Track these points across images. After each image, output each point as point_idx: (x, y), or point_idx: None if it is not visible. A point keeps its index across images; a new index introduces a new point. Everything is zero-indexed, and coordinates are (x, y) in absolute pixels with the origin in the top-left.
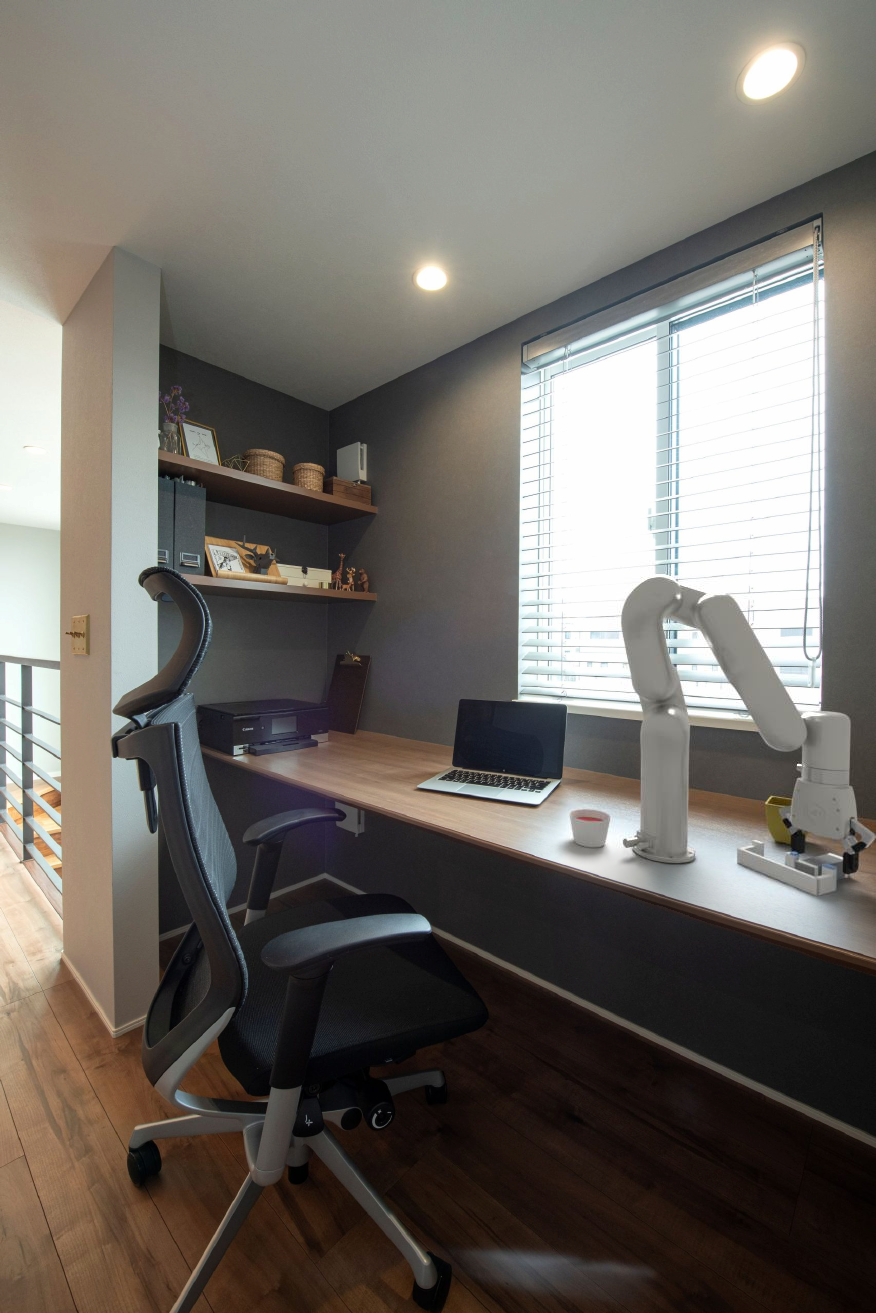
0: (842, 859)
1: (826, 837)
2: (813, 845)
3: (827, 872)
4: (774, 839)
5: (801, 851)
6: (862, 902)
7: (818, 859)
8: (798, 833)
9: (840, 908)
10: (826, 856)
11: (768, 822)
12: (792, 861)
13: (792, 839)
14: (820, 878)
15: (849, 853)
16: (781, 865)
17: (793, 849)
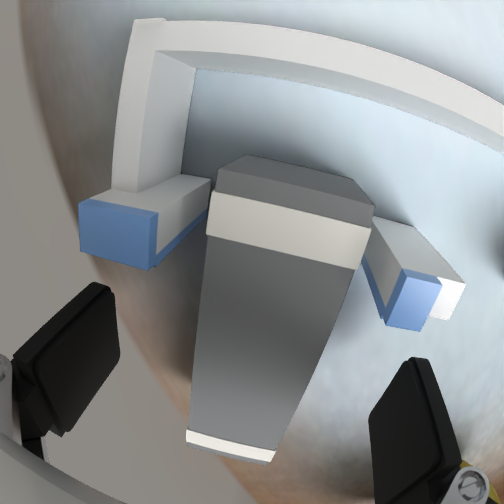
0: (200, 433)
1: (45, 471)
2: (368, 493)
3: (135, 194)
4: (463, 461)
5: (382, 409)
6: (62, 171)
7: (272, 373)
8: (417, 499)
9: (80, 32)
10: (263, 429)
11: (493, 493)
12: (400, 249)
13: (449, 435)
14: (126, 58)
15: (7, 360)
16: (415, 62)
17: (424, 379)
